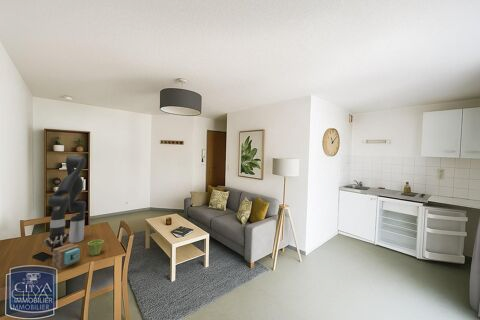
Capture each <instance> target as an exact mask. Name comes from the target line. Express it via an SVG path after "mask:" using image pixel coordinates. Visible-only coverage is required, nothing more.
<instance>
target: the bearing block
mask: <svg viewBox="0 0 480 320" xmlns="http://www.w3.org/2000/svg"><path fill="white" fill-rule="evenodd" d="M79 246H80V245H78V244H74V243H70V242H69V243H67V244H65V245H62V246H61V247H58V248H55V249H53V252H52V262H51V263H52V265H51V267H52V266H53V268H55V267H56V269H58V270H62V269H64V268H66V267H68V266H71V265H73V264H77V263H78V262H79V260H77V261H75V262H72V263H70V264H64V254H65V252H67V251H70V250H73V249H76V248H78V249H80V248H79Z"/></svg>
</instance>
